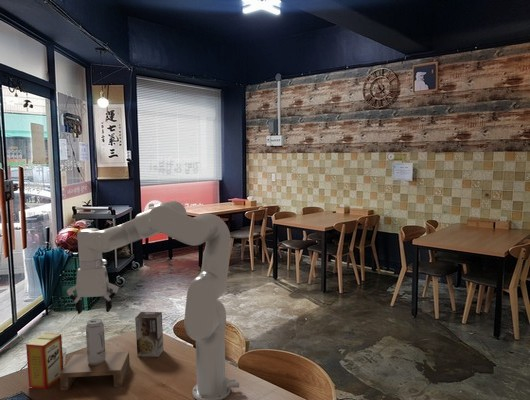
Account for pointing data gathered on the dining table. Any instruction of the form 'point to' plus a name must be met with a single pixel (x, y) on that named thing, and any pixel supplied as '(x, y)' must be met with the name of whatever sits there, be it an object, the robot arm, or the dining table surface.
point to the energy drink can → (95, 342)
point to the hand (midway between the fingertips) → (94, 311)
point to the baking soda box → (44, 360)
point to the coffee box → (149, 334)
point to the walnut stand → (95, 368)
